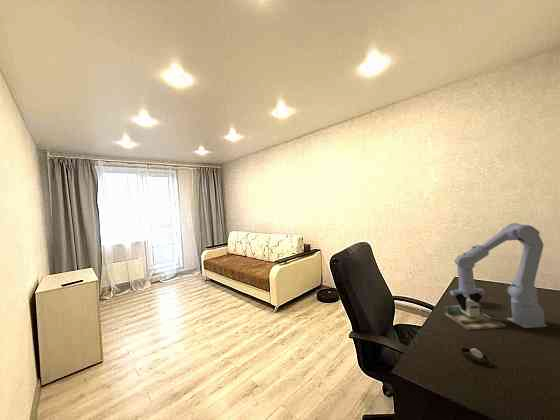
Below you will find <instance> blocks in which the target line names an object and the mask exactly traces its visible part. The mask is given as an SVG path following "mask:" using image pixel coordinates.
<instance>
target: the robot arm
mask: <svg viewBox="0 0 560 420" xmlns="http://www.w3.org/2000/svg"><path fill="white" fill-rule="evenodd" d="M507 241H519V243H520V244H522V245H523V249H522V253H521V257H520V261H519V265H518V270H517V273H516V278H515V279H514V280H512V281H511V284H510V285H509V286H508V287H507V289H506V291H507V294H508V296H510V297H511V298H510V306H511V316H512V317H506V320H507V321H510V322H512V323H514V324H515V325H517V326H520V327H522V328H524V329H529V328H531V329H533V328H544V327H545V328H546V327H548V325H547V324H545V323H546V322H545V313H544V309H543V307H542V306H541V305H540V304H539V303H538V302H539V298H538V295H537V293H538V289H537V288H536V286H535V282H536V281H535V280H536V277H537V274H538V273H537V272H538V269H539V265H540V261H541V257H542V253H543V249H544V243H543V240H542V238H541V236H540V231H539V230H538V229H537V228H536V227H534V226H532V225H529V224H521V223H516V222H514V223H510V224H508V225H507V226H506V227H503V228H502V229H501V230H500V231H499V232H497V233H496V234H495V235H493V236H492V237H491V238H489V239H487V240H486V241H485V242H484V243H483V244H481V245H480V244H476V245H472V246H471V248H470V249H469V250H467V251H466V252H463V253H462V254H461V255H457V256H456V258H455V260H454V262H455V264H456V266H457V277H458V278H457V279H458V288H456V289H452V290H450V291H449V294H450V296H453V297H455V299H456V300H457V302H458V305H459V304H460V307H461V309H462V310H466V299H467V298H466V297H464V294H469V297H470V299H471V300H473V301H475V302H477V303H479V302H480V301H481V300H482V297H483V296H482V295H483V294H485V289H484V288H481V287H476V286H475V287H474V283H475V280H474V279H475V277H474V271H473V269H474V268H475V264H476V263H478V262H479V261H481V260H483V259H484V258H486V257H488V256H489V253H490V251H491V250H493V249H494V248H495V247H496V248H497V247H498V246H499V245H501V244H503V243H505V242H507Z"/></svg>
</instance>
